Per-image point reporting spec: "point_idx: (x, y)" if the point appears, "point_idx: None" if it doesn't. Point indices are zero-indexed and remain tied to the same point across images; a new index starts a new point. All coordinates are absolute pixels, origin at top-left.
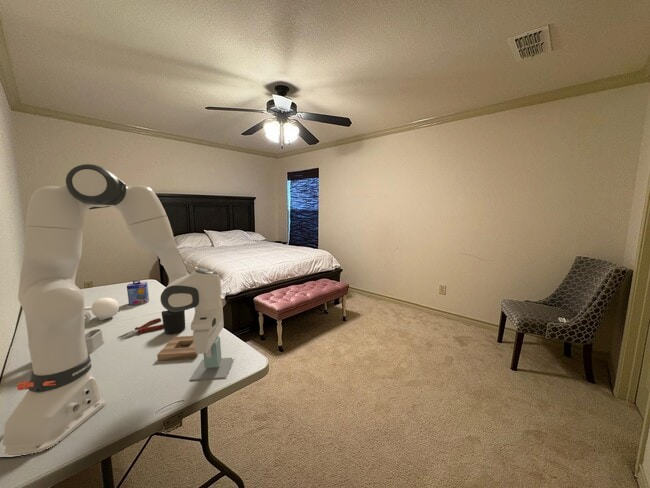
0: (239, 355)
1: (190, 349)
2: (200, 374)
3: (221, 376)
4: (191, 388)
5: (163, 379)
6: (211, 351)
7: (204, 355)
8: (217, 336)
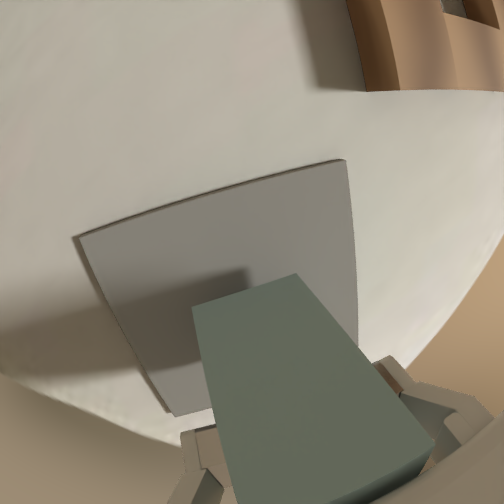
0: (377, 352)
1: (424, 33)
2: (154, 276)
3: (171, 399)
4: (32, 300)
5: (69, 19)
6: (218, 492)
7: (211, 397)
8: (436, 456)
